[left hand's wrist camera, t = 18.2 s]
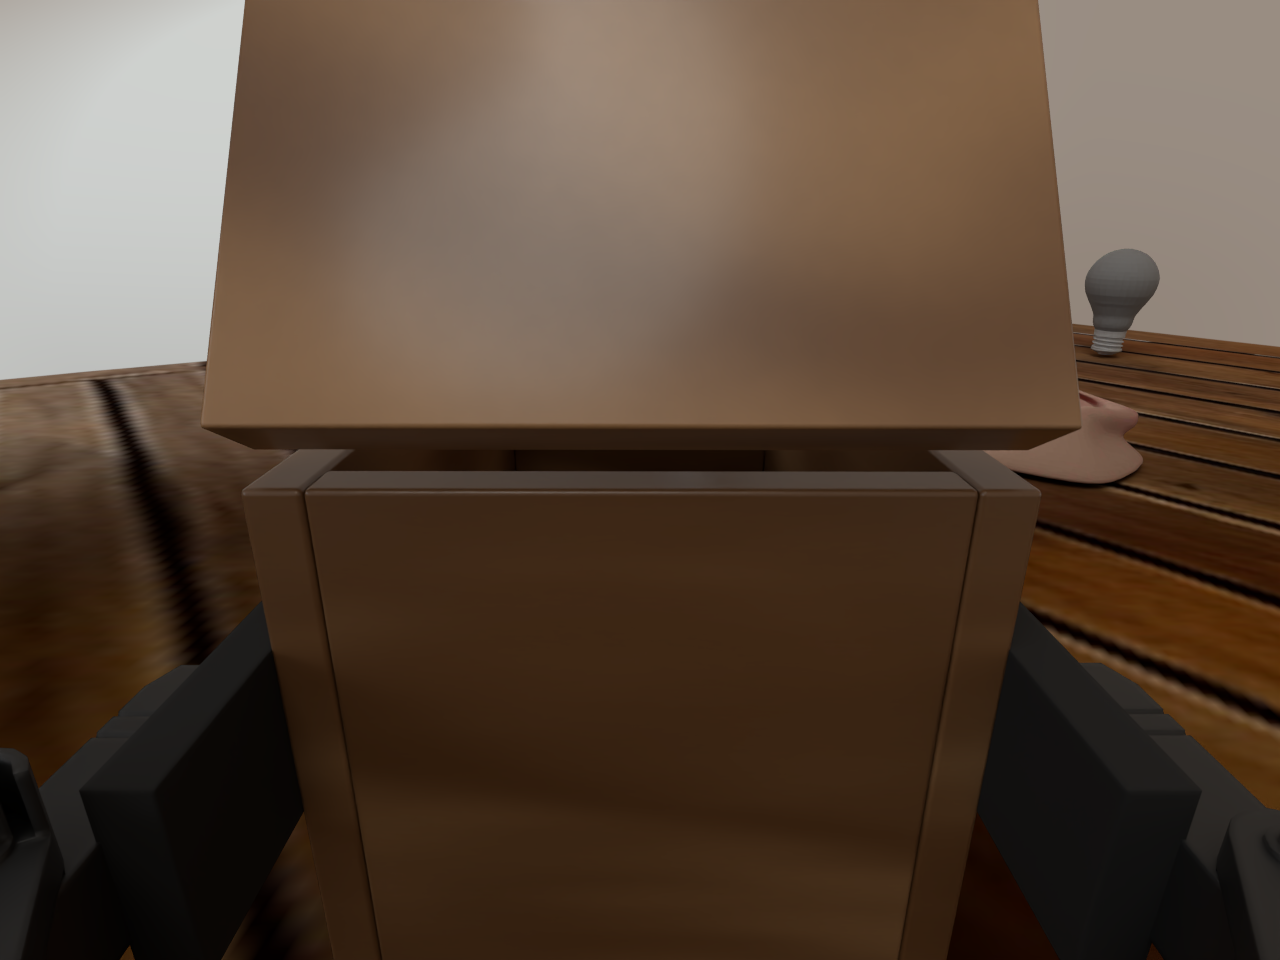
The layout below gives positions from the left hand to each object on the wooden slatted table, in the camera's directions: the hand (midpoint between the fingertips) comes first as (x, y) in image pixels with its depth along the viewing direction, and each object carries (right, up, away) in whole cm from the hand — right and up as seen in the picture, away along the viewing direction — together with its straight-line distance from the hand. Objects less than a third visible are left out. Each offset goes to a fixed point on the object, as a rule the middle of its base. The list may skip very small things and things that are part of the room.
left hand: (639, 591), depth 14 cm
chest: (0, -5, +6) cm, 8 cm away
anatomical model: (+24, +4, +31) cm, 40 cm away
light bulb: (+46, +14, +59) cm, 77 cm away
